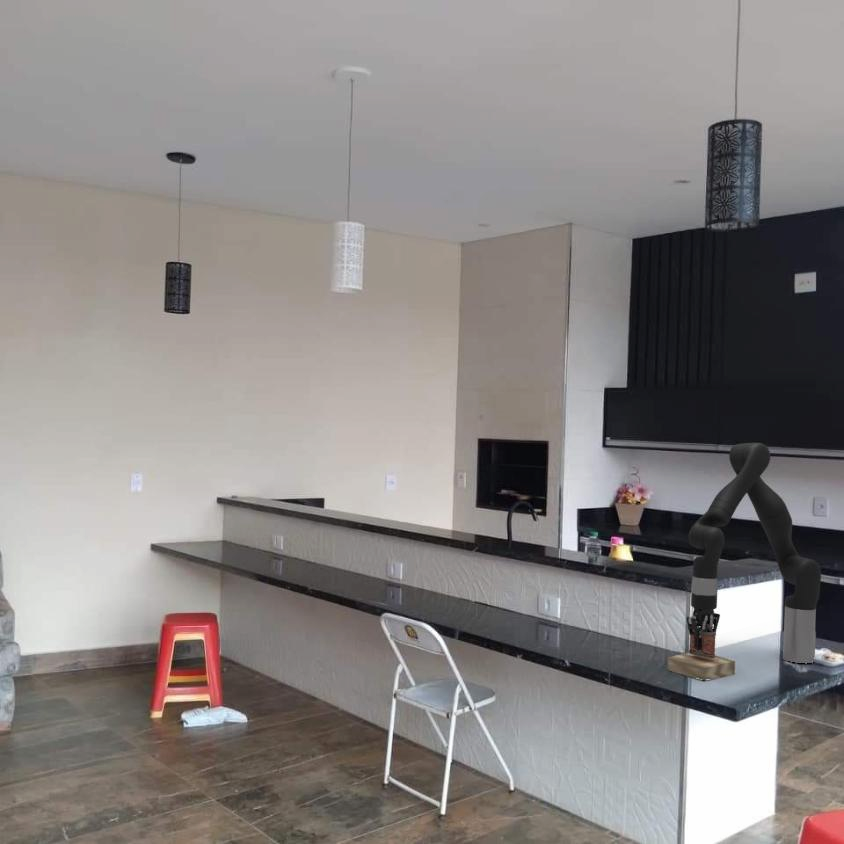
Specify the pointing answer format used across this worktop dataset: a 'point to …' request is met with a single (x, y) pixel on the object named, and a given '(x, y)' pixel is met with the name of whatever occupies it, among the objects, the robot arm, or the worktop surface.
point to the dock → (701, 666)
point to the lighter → (704, 643)
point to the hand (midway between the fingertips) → (702, 648)
